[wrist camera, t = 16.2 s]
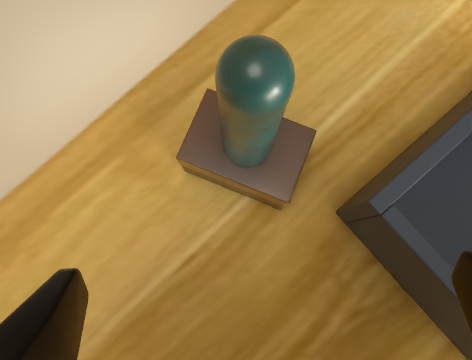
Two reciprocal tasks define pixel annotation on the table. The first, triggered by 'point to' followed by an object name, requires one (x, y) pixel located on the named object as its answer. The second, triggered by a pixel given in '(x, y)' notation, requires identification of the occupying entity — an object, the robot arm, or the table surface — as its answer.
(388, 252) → the basket
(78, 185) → the table surface
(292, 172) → the teal handled stamp
